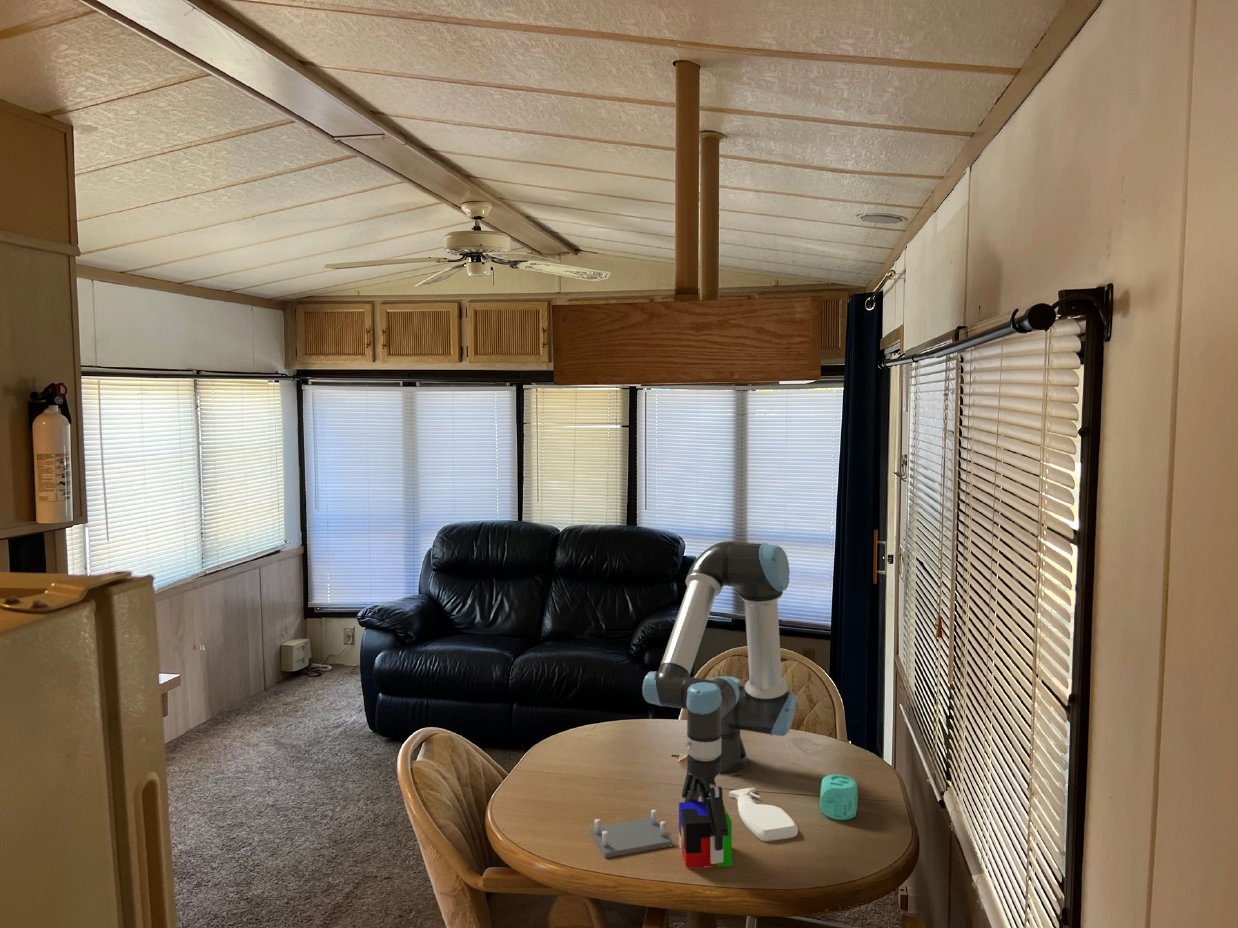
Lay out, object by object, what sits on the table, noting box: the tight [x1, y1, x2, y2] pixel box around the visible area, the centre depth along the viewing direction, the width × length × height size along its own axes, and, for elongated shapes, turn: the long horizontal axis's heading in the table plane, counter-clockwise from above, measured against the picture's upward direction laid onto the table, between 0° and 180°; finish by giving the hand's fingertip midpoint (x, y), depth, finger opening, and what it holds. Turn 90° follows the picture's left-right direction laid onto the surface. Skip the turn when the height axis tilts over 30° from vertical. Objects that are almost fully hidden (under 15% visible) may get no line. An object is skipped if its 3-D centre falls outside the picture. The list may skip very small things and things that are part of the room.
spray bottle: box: [728, 787, 799, 842], centre depth 211 cm, size 3×11×24 cm
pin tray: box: [589, 809, 673, 859], centre depth 200 cm, size 16×12×4 cm
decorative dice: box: [819, 773, 859, 821], centre depth 212 cm, size 8×8×8 cm
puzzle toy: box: [678, 800, 733, 868], centre depth 192 cm, size 10×10×10 cm
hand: (704, 846), depth 193 cm, fingers open, 13 cm apart
